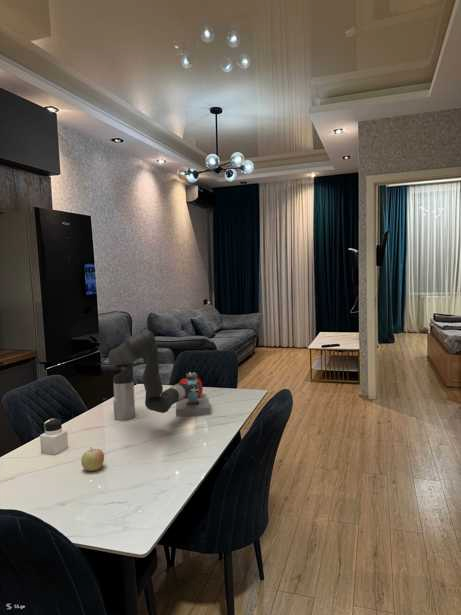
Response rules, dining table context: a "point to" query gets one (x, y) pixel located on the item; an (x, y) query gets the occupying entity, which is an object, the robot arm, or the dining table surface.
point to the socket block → (193, 407)
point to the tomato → (197, 382)
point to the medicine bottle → (53, 437)
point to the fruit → (92, 459)
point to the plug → (193, 380)
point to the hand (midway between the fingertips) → (194, 383)
